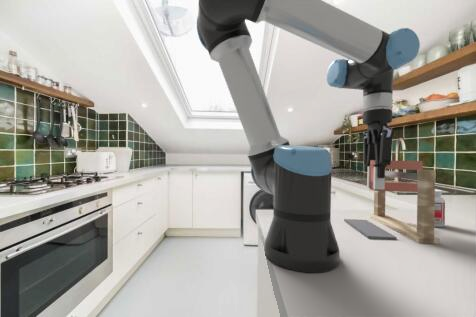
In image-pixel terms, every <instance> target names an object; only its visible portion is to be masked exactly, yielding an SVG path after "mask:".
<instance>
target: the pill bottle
mask: <svg viewBox="0 0 476 317" xmlns="http://www.w3.org/2000/svg"><path fill="white" fill-rule="evenodd" d="M442 195H443V190H441V189H435V218H434V228H443V227H445V225H446V221H445V220H446V200H445V198H444V197H442Z"/></svg>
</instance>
